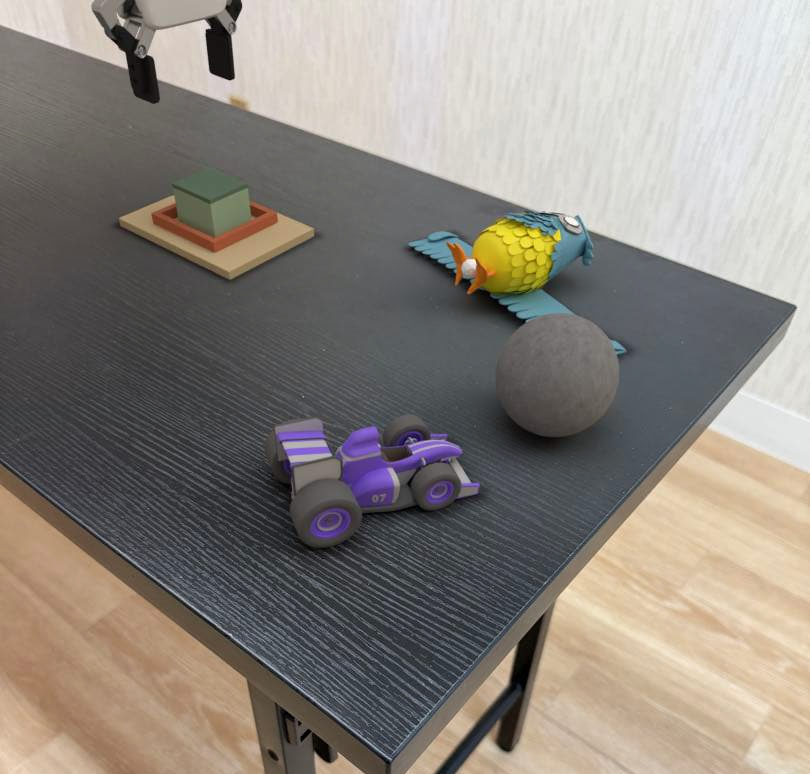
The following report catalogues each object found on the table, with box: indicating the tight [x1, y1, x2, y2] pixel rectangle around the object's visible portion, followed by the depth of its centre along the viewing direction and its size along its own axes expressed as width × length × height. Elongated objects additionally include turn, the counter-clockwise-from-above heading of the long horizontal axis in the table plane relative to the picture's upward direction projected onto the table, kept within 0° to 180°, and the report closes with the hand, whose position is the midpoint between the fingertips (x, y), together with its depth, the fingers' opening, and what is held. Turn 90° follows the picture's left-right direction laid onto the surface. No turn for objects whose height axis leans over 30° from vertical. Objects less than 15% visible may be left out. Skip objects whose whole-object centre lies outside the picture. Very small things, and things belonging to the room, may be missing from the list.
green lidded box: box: [171, 167, 251, 238], centre depth 89 cm, size 6×6×4 cm
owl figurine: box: [408, 209, 628, 356], centre depth 81 cm, size 28×9×15 cm
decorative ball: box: [494, 313, 620, 438], centre depth 66 cm, size 10×10×10 cm
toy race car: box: [263, 413, 481, 549], centre depth 61 cm, size 10×15×6 cm, turn 111°
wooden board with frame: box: [118, 194, 315, 281], centre depth 91 cm, size 18×13×2 cm
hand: (186, 87), depth 80 cm, fingers open, 9 cm apart
